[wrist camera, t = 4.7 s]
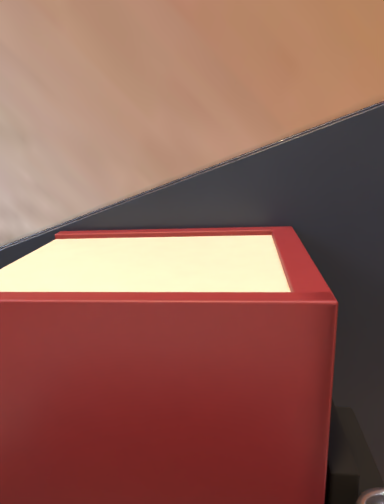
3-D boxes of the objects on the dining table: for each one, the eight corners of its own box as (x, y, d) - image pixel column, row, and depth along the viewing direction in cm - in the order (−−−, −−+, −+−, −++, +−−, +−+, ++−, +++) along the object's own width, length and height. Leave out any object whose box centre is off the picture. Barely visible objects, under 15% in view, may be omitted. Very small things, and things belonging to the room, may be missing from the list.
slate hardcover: (384, 100, 11) (415, 92, 9) (459, 426, 14) (495, 473, 12) (-47, 264, 14) (-91, 284, 12) (84, 498, 17) (64, 543, 15)
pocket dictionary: (292, 225, 10) (339, 301, 5) (284, 512, 13) (309, 723, 8) (59, 230, 11) (-76, 299, 6) (102, 497, 14) (31, 681, 9)
